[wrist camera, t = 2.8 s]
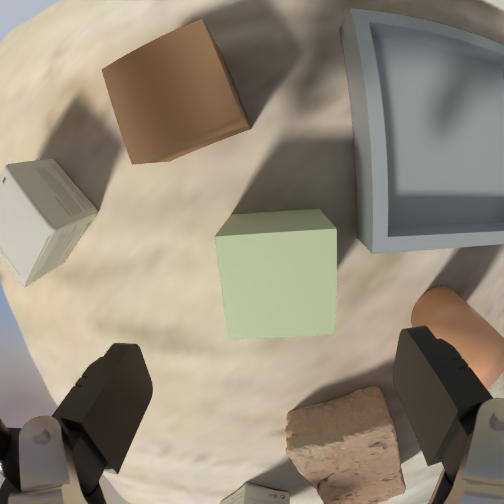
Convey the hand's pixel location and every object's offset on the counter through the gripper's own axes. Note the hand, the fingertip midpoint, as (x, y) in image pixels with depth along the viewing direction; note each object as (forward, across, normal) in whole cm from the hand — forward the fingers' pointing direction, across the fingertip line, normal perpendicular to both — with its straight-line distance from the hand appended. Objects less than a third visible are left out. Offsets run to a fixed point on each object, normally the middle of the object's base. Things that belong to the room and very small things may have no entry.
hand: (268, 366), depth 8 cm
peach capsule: (+10, -12, +5) cm, 16 cm away
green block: (+10, 0, 0) cm, 10 cm away
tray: (+10, -12, -7) cm, 17 cm away
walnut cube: (+10, +3, -9) cm, 14 cm away
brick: (+10, -6, +20) cm, 23 cm away
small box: (+10, +14, -4) cm, 18 cm away
